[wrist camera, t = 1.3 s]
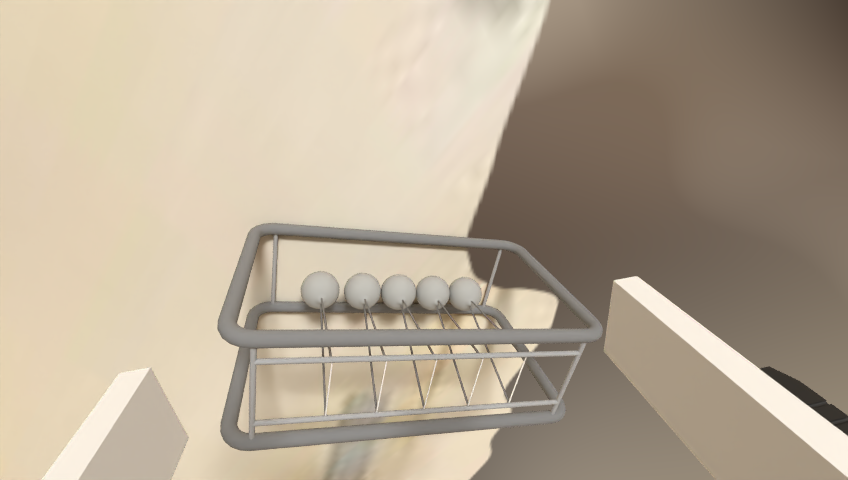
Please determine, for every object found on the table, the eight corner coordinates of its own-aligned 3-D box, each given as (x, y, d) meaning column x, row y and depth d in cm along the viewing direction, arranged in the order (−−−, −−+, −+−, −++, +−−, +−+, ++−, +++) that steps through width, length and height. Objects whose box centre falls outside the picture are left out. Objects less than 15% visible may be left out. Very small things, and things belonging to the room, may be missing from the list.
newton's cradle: (250, 307, 42) (213, 457, 27) (251, 219, 38) (209, 338, 23) (495, 310, 51) (573, 424, 36) (518, 240, 47) (616, 334, 32)
